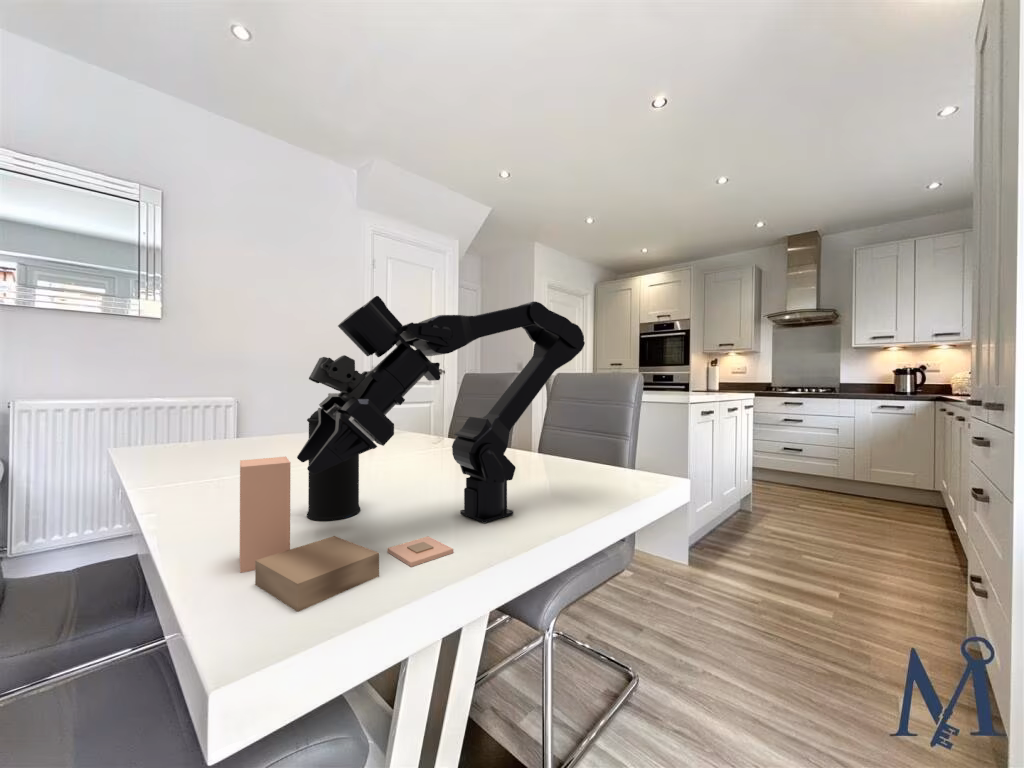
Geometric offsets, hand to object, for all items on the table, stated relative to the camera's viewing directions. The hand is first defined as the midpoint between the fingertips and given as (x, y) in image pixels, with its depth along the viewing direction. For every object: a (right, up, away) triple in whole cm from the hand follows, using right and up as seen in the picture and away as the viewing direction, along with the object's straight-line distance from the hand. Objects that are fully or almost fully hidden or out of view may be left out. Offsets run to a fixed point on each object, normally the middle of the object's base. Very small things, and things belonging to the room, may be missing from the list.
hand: (304, 465), depth 53 cm
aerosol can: (-3, -11, +16) cm, 20 cm away
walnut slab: (+5, -11, -8) cm, 15 cm away
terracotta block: (-4, -11, -2) cm, 12 cm away
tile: (+15, -11, 0) cm, 18 cm away
